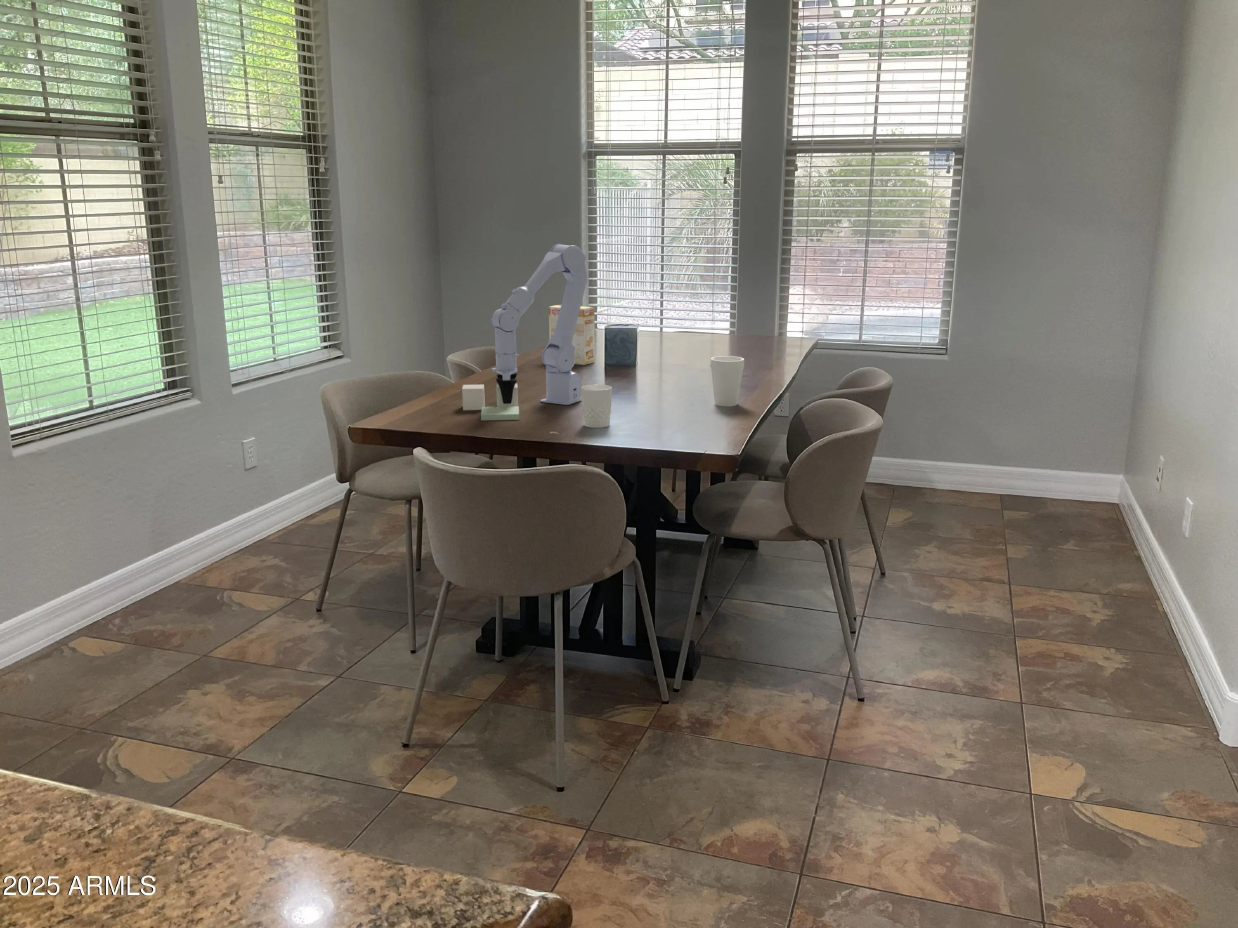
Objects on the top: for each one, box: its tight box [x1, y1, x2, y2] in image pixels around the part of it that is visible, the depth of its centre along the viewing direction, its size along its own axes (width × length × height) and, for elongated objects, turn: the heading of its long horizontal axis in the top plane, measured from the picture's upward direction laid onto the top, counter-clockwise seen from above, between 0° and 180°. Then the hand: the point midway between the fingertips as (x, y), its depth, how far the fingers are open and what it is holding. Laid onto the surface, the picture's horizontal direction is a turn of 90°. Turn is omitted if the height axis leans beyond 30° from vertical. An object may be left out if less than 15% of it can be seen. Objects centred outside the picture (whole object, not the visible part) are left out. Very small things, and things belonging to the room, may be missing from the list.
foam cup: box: [709, 355, 745, 407], centre depth 283 cm, size 10×9×13 cm
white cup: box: [580, 383, 613, 429], centre depth 258 cm, size 8×8×10 cm
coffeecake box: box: [548, 304, 596, 366], centre depth 350 cm, size 15×7×20 cm, turn 58°
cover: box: [461, 384, 486, 411], centre depth 279 cm, size 6×6×6 cm
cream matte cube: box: [495, 383, 519, 407], centre depth 279 cm, size 6×6×6 cm
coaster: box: [480, 405, 520, 421], centre depth 269 cm, size 10×10×2 cm
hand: (507, 401), depth 280 cm, fingers closed on cream matte cube, 6 cm apart
